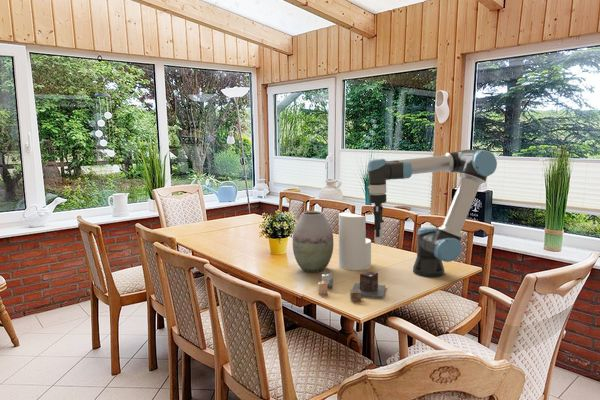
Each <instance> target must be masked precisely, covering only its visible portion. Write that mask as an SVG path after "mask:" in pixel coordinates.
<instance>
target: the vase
mask: <svg viewBox="0 0 600 400" xmlns="http://www.w3.org/2000/svg"><path fill="white" fill-rule="evenodd" d="M334 244H335V243H334V234H333V229H332V226H331V224H330V222H329V221H328V220H327V218H326V216H325V214H324V212H322V211H318V210H317V211H316V210H314V211H313V210H312V211H311V210H310V211H303V212H302V213H301V214H300V217H299V219H298V221H297V222H296V224H295V225H294V227H293V232H292V251H293V255H294V258H295V261H296V263H297V265H298V266H299V268H300V269H301V270H302V271H303V272H305V273H315V274H316V273H320V272H321V273H322V272H323V271H324V270H325V269H326V268H327V267H328V266H329V263H330V262H331V259H332V256H333V251H334Z"/></svg>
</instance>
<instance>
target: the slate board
mask: <svg viewBox="0 0 600 400" xmlns="http://www.w3.org/2000/svg"><path fill="white" fill-rule="evenodd" d="M351 289H360V282H355V283H354V285H353V286H352V288H351ZM386 289H387V287H386V285H385V284H384V285H383V284H378V289H376V290H374V291H373V292H368V291H364V290H360V291H361V298H368V299H370V298H371V299H380V300H383V299H384V296H385V292H386Z"/></svg>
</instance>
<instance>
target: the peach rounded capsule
mask: <svg viewBox="0 0 600 400" xmlns="http://www.w3.org/2000/svg"><path fill="white" fill-rule="evenodd" d="M317 283H318V286H317V288H318V289H317V292H318V295H319V296H327V295H328V289H327V282H325V281H322V280H321V281H318V282H317Z"/></svg>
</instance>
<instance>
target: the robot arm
mask: <svg viewBox="0 0 600 400" xmlns="http://www.w3.org/2000/svg"><path fill="white" fill-rule="evenodd" d="M497 165H498V162H497V159H496V156H495V155H494V154H493V152H492V151H490V150H486V149H464V150H458V151H454V152H453V151H452V152H446V153H445V154H444V155H435V156H426V157H417V158H407V159H406V158H405V159H397V160H396V159H395V160H386V159H384V158H375V159H373V158H372V159H370V160H368V167H367V169H368V186H367V189H369V190H368V191H369V192H368V193H369V196H368V197H369V198H368V199H369V203H370V204H374V205H373V210H372V211H373V216H374V217H373V218H374V223H373V224H374V225H373V226H374V227H372V230H373V231H374V245H382V238H383V236H384V235H383V234H384V233H383V230H384V228H383V223H384V222H385V221H384V219H383V210H384V209H383V208H384V206H383V204H386V203H387V194H386V193H387V181H390V180H405V179H410V178H411V177H412V175H417V174H428V173H429V174H430V173H437V172H446V173H459V175H460V177H461V178H460V181H459V183H458V185H457V188H456V191H455V193H454V195H453V198H452V201H451V203H450V206H449V208H448V210H447V212H446V214H445V218H444V220H443V222H442V224H441V226H437V227H430V226H427V227H420V228H418V229H417V234H416V240H417V241H416V259H415V261H414V263H413V267H412V272H413V274H415V275H417V276H421V277H424V278H425V277H427V278H437V277H443V276H444V275H445V267H444V264H443V262H444V263H446V262H447V263H450V262H453V261H455V260H457V259H458V258H459V257H460V255H461V254H462V252H463V247H462V243H461V241H462V238H463V236H462V234H461V231H462V229H463V227H464V224H465V222H466V220H467V217H468V215H469V212H470V209H471V207H472V205H473V203H474V200H475V198H476V196H477V193H478V190H479V188H480V186H481V185H482V184H484V183H486V181H487V179H488V178H487V177H489V176H491V175H493V174H494V173H495V171H496V170H497Z"/></svg>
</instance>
